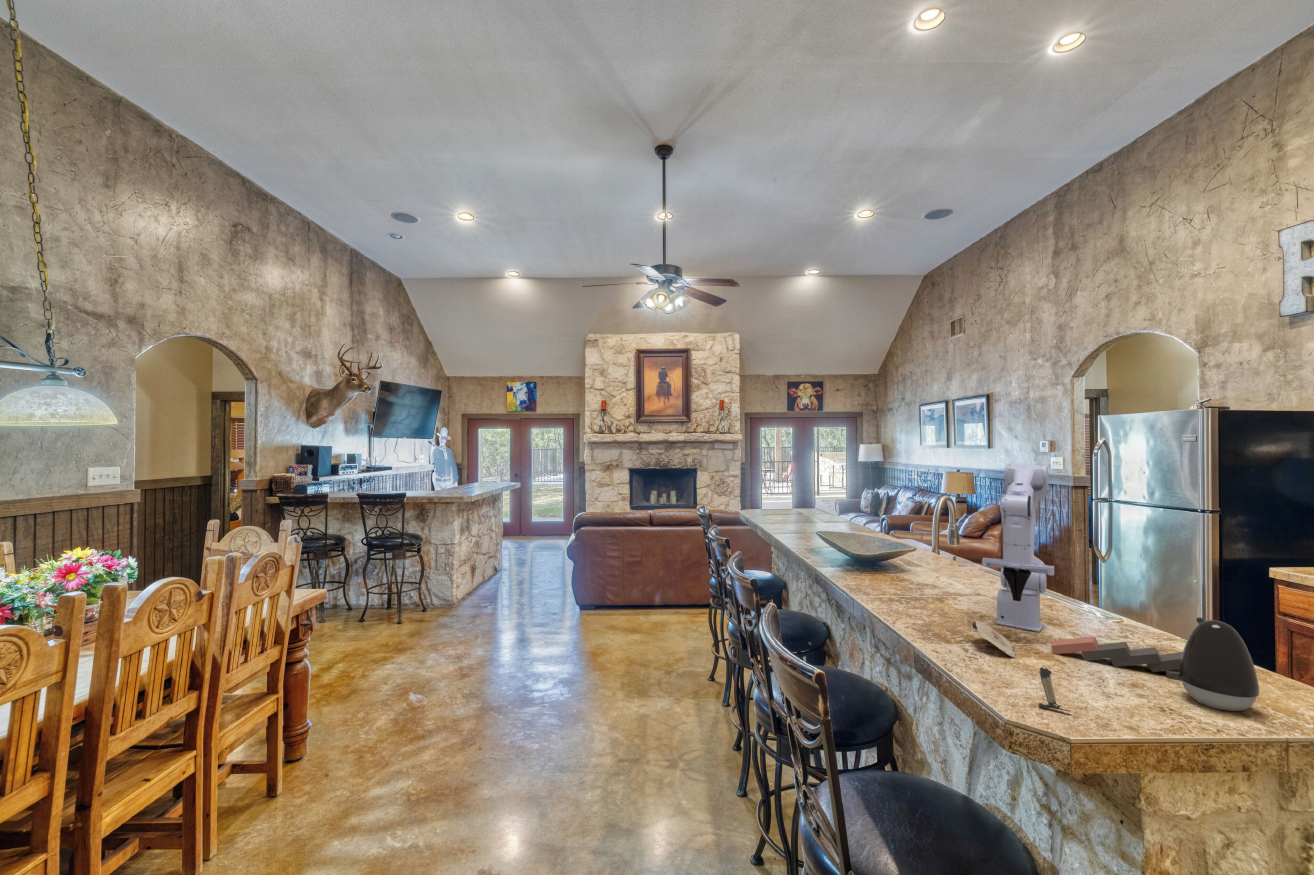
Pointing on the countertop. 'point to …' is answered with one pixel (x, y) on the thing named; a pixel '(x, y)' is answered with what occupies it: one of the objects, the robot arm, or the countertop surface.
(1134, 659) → the domino
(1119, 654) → the domino
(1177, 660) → the domino
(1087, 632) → the countertop surface
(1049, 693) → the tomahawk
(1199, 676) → the black and grey speaker
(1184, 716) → the countertop surface
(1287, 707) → the countertop surface
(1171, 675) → the domino
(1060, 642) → the loose domino
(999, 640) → the wooden slab
